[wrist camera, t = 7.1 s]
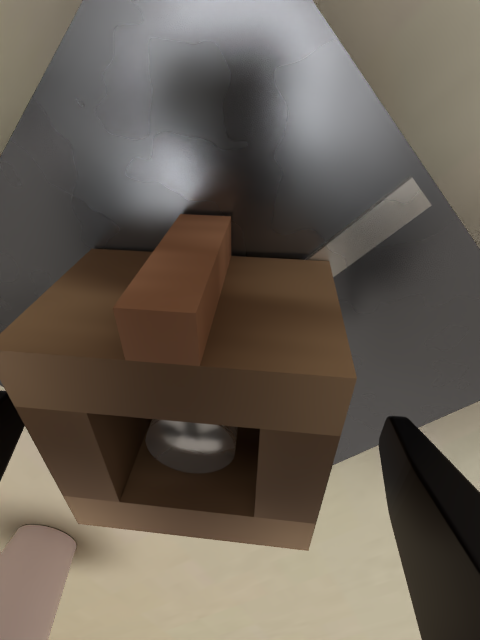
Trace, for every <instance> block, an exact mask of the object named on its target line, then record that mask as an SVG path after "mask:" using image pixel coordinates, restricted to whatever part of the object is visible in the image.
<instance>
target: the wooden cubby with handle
mask: <svg viewBox="0 0 480 640" xmlns="http://www.w3.org/2000/svg"><path fill="white" fill-rule="evenodd" d="M356 380H357V377H356V372H355V368H354V364H353V360H352V355H351V351H350V347H349V343H348V338H347V334H346V330H345V326H344V321H343V317H342V313H341V308H340V304H339V300H338V296H337V291H336V287H335V283H334V279H333V274H332V270H331V266H330V262H329V261H316V260H297V259H279V258H260V257H241V256H231V216H213V215H191V214H180V215H179V216H178V218H177V219H176V221H175V222H174V223H173V225H172V226H171V228H170V229H169V230H168V232H167V233H166V234H165V236H164V237H163V239H162V240H161V241H160V243H159V244H158V246H157V247H156V248H155V250H154V251H153V252H147V251H128V250H109V249H91V250H90V251H89V252H88V253H87V254H85V255H84V256H83V257H82V258H81V259H80V260H79V261H78V262H77V263H76V264H75V265H74V266H73V267H71V268H70V269H69V270H68V271H67V272H66V273H65V274H64V275H63V276H62V277H61V278H60V279H59V280H57V281H56V282H55V283H54V284H53V285H52V286H51V287H50V288H49V289H48V290H47V291H46V292H45V293H43V294H42V295H41V296H40V297H39V298H38V299H37V300H36V301H35V302H34V303H33V304H32V305H31V306H29V307H28V308H27V309H26V310H25V311H24V312H23V313H22V314H21V315H20V316H19V317H18V318H17V319H15V320H14V321H13V322H12V323H11V324H10V325H9V326H8V327H7V328H6V329H5V330H4V331H3V332H1V333H0V381H1V382H2V384H3V386H4V388H5V390H6V392H7V394H8V395H9V397H10V399H11V401H12V403H13V405H14V406H15V408H16V410H17V412H18V414H19V416H20V417H21V419H22V421H23V423H24V425H25V427H26V429H27V430H28V432H29V434H30V436H31V438H32V440H33V441H34V443H35V445H36V447H37V449H38V451H39V453H40V454H41V456H42V458H43V460H44V462H45V464H46V465H47V467H48V469H49V471H50V473H51V475H52V476H53V478H54V480H55V482H56V484H57V486H58V488H59V489H60V491H61V493H62V495H63V497H64V499H65V500H66V502H67V504H68V506H69V508H70V510H71V512H72V513H73V515H74V517H75V519H76V521H77V523H78V524H85V525H93V526H102V527H111V528H119V529H128V530H136V531H145V532H153V533H162V534H170V535H179V536H187V537H196V538H204V539H213V540H222V541H230V542H239V543H247V544H256V545H264V546H273V547H281V548H290V549H298V550H307V551H308V550H309V546H310V543H311V539H312V536H313V532H314V529H315V525H316V522H317V518H318V515H319V511H320V507H321V504H322V500H323V497H324V493H325V490H326V486H327V483H328V479H329V476H330V472H331V469H332V465H333V461H334V458H335V454H336V451H337V447H338V444H339V440H340V437H341V433H342V430H343V426H344V422H345V419H346V415H347V412H348V408H349V405H350V401H351V398H352V394H353V391H354V387H355V384H356ZM152 419H157V420H168V421H179V422H190V423H201V424H212V425H223V426H234V427H238V429H237V439H236V448H235V455H234V458H233V460H232V461H231V462H230V464H228V465H227V466H226V467H224V468H223V469H220V470H218V471H215V472H210V473H201V474H198V473H187V472H182V471H178V470H175V469H172V468H170V467H168V466H166V465H164V464H162V463H161V462H159V461H158V460H157V459H156V458H154V457H153V455H152V454H151V453H150V452H149V450H148V448H147V445H146V435H147V432H148V429H149V426H150V423H151V421H152Z"/></svg>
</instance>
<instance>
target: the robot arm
mask: <svg viewBox="0 0 480 640" xmlns="http://www.w3.org/2000/svg"><path fill="white" fill-rule="evenodd" d="M24 426H25V425H24V423H23V421H22V419H21V417H20V416H19V414H18V412H17V410H16V408H15V406H14V405H13V403H12V401H11V399H10V397H9V395H8V394H7V392H6V391H0V481H1V479H2V476H3V474H4V472H5V470H6V468H7V465H8V463H9V461H10V458H11V456H12V454H13V452H14V449H15V447H16V445H17V442H18V440H19V438H20V435H21V433H22V431H23V429H24ZM379 451H380V458H381V465H382V472H383V478H384V485H385V492H386V498H387V505H388V510H389V515H390V520H391V524H392V528H393V532H394V535H395V539H396V543H397V547H398V551H399V554H400V558H401V562H402V566H403V570H404V574H405V577H406V581H407V585H408V589H409V593H410V596H411V600H412V604H413V608H414V612H415V615H416V619H417V623H418V627H419V631H420V635H421V638H422V640H480V492H479V491H478V490H477V489H476V488H475V487H474V486H473V485H472V484H471V483H470V482H469V481H468V480H467V479H466V478H465V477H464V475H463V474H462V473H461V472H460V471H459V470H458V469H457V468H456V467H455V466H454V465H453V464H452V463H451V462H450V461H449V460H448V459H447V458H446V457H445V456H444V455H443V454H442V453H441V452H440V451H439V450H438V449H437V447H436V446H435V445H434V444H433V443H432V442H431V441H430V440H429V439H428V438H427V437H426V436H425V435H424V434H423V433H422V432H421V431H420V430H419V429H418V428H417V427H416V426H415V425H414V424H413V423H412V422H411V420H409V419H408V418H407V417H404V416H388V417H387V418H386V420H385V423H384V426H383V429H382V431H381V434H380V437H379Z"/></svg>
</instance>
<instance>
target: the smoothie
mask: <svg viewBox="0 0 480 640" xmlns="http://www.w3.org/2000/svg"><path fill="white" fill-rule="evenodd" d="M75 550H76V542H75V541H74V540H73V539H72V538H71V537H70V536H69V535H67V534H65V533H64V532H61V531H59V530H57V529H54V528H51V527H47V526H41V525H25V526H21V527H19V528H18V529H17V531H16V532H15V534H14V535H13V536H12V538H11V539H10V541H9V542H8V544H7V545H6V546H5V548H4V549H3V551H2V552H1V553H0V640H48V638H49V635H50V631H51V628H52V625H53V622H54V618H55V615H56V612H57V608H58V605H59V602H60V599H61V595H62V592H63V589H64V586H65V582H66V579H67V576H68V572H69V569H70V566H71V563H72V559H73V556H74V553H75Z"/></svg>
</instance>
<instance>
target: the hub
mask: <svg viewBox="0 0 480 640" xmlns="http://www.w3.org/2000/svg"><path fill="white" fill-rule="evenodd" d="M180 214H191V215H213V216H231V256H241V257H260V258H279V259H297V260H316V261H329V262H330V266H331V270H332V274H333V279H334V283H335V287H336V291H337V296H338V300H339V304H340V308H341V313H342V317H343V321H344V326H345V330H346V334H347V338H348V343H349V347H350V351H351V355H352V360H353V364H354V368H355V372H356V377H357V380H356V384H355V387H354V391H353V394H352V398H351V401H350V405H349V408H348V412H347V415H346V419H345V422H344V426H343V430H342V433H341V437H340V440H339V444H338V447H337V451H336V454H335V458H334V461H333V465H334V464H336V463H339V462H341V461H343V460H346V459H348V458H350V457H352V456H355V455H357V454H359V453H361V452H364V451H366V450H368V449H371V448H373V447H375V446H377V445H379V437H380V434H381V431H382V429H383V426H384V423H385V420H386V418H387V417H388V416H404V417H407V418H408V419H409V420H411V422H412V423H413V424H414V425H415V426H416V427H417V428H418V427H421V426H423V425H425V424H427V423H430V422H432V421H434V420H437V419H439V418H441V417H443V416H446V415H448V414H450V413H453V412H455V411H457V410H459V409H462V408H464V407H466V406H468V405H471V404H473V403H475V402H478V401H480V249H479V248H478V246H477V245H476V243H475V242H474V240H473V239H472V237H471V236H470V234H469V233H468V231H467V230H466V228H465V227H464V225H463V224H462V222H461V221H460V219H459V218H458V216H457V215H456V213H455V212H454V210H453V209H452V207H451V206H450V204H449V203H448V201H447V200H446V198H445V197H444V195H443V194H442V192H441V191H440V189H439V188H438V187H437V185H436V184H435V182H434V181H433V179H432V178H431V176H430V175H429V173H428V172H427V170H426V169H425V167H424V166H423V164H422V163H421V161H420V160H419V158H418V157H417V155H416V154H415V152H414V151H413V149H412V148H411V146H410V145H409V143H408V142H407V140H406V139H405V137H404V136H403V134H402V133H401V131H400V130H399V128H398V127H397V126H396V124H395V123H394V121H393V120H392V118H391V117H390V115H389V114H388V112H387V111H386V109H385V108H384V106H383V105H382V103H381V102H380V100H379V99H378V97H377V96H376V94H375V93H374V91H373V90H372V88H371V87H370V85H369V84H368V82H367V81H366V79H365V78H364V76H363V75H362V73H361V72H360V70H359V69H358V67H357V66H356V64H355V63H354V62H353V60H352V59H351V57H350V56H349V54H348V53H347V51H346V50H345V48H344V47H343V45H342V44H341V42H340V41H339V39H338V38H337V36H336V35H335V33H334V32H333V30H332V29H331V27H330V26H329V24H328V23H327V21H326V20H325V18H324V17H323V15H322V14H321V12H320V11H319V9H318V8H317V6H316V5H315V3H314V2H313V1H312V0H83V1H82V3H81V5H80V7H79V9H78V11H77V13H76V14H75V16H74V18H73V20H72V22H71V24H70V26H69V28H68V30H67V31H66V33H65V35H64V37H63V39H62V41H61V43H60V45H59V47H58V49H57V50H56V52H55V54H54V56H53V58H52V60H51V62H50V64H49V66H48V67H47V69H46V71H45V73H44V75H43V77H42V79H41V81H40V83H39V85H38V86H37V88H36V90H35V92H34V94H33V96H32V98H31V100H30V102H29V103H28V105H27V107H26V109H25V111H24V113H23V115H22V117H21V119H20V121H19V122H18V124H17V126H16V128H15V130H14V132H13V134H12V136H11V138H10V140H9V141H8V143H7V145H6V147H5V149H4V151H3V153H2V155H1V157H0V333H1V332H3V331H4V330H5V329H6V328H7V327H8V326H9V325H10V324H11V323H12V322H13V321H14V320H15V319H17V318H18V317H19V316H20V315H21V314H22V313H23V312H24V311H25V310H26V309H27V308H28V307H29V306H31V305H32V304H33V303H34V302H35V301H36V300H37V299H38V298H39V297H40V296H41V295H42V294H43V293H45V292H46V291H47V290H48V289H49V288H50V287H51V286H52V285H53V284H54V283H55V282H56V281H57V280H59V279H60V278H61V277H62V276H63V275H64V274H65V273H66V272H67V271H68V270H69V269H70V268H71V267H73V266H74V265H75V264H76V263H77V262H78V261H79V260H80V259H81V258H82V257H83V256H84V255H85V254H87V253H88V252H89V251H90V250H91V249H109V250H128V251H147V252H153V251H154V250H155V248H156V247H157V246H158V244H159V243H160V241H161V240H162V239H163V237H164V236H165V234H166V233H167V232H168V230H169V229H170V228H171V226H172V225H173V223H174V222H175V221H176V219H177V218H178V216H179V215H180ZM0 385H1V386H3V384H2V382H1V381H0ZM3 387H4V386H3ZM237 429H238V427H234V426H223V425H212V424H201V423H190V422H179V421H168V420H157V419H152V421H151V423H150V426H149V429H148V432H147V435H146V445H147V448H148V450H149V452H150V453H151V454H152V455H153V457H154V458H156V459H157V460H158V461H159V462H161V463H162V464H164V465H166V466H168V467H170V468H172V469H175V470H178V471H182V472H187V473H198V474H201V473H210V472H215V471H218V470H220V469H223V468H224V467H226V466H227V465H228V464H230V462H231V461H232V460H233V458H234V455H235V448H236V439H237Z"/></svg>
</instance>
